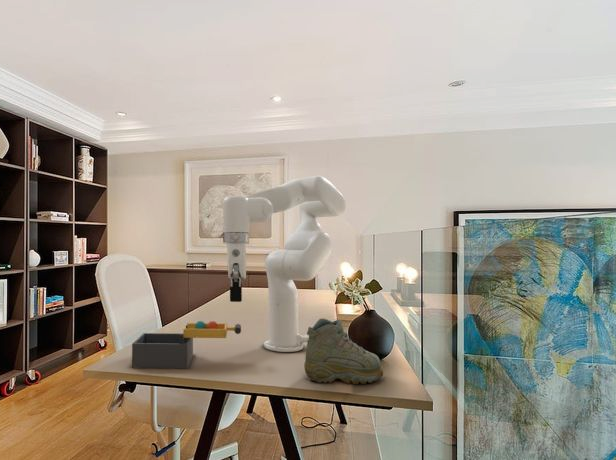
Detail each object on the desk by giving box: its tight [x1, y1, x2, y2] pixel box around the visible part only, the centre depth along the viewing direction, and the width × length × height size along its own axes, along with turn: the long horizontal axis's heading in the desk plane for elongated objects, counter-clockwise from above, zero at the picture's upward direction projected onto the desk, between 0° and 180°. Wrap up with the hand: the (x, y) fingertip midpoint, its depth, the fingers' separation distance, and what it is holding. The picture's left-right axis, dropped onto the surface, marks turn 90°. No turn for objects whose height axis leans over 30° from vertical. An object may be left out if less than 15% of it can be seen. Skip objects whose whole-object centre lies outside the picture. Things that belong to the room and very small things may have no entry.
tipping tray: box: [182, 322, 242, 339], centre depth 110 cm, size 16×8×3 cm, turn 88°
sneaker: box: [304, 318, 384, 385], centre depth 97 cm, size 11×19×15 cm, turn 78°
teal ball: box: [195, 320, 206, 329], centre depth 110 cm, size 3×3×3 cm
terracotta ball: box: [207, 320, 218, 329], centre depth 110 cm, size 3×3×3 cm
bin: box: [131, 324, 194, 369], centre depth 111 cm, size 15×12×9 cm
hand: (236, 299), depth 110 cm, fingers open, 9 cm apart
